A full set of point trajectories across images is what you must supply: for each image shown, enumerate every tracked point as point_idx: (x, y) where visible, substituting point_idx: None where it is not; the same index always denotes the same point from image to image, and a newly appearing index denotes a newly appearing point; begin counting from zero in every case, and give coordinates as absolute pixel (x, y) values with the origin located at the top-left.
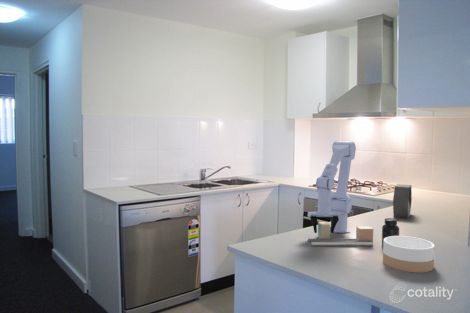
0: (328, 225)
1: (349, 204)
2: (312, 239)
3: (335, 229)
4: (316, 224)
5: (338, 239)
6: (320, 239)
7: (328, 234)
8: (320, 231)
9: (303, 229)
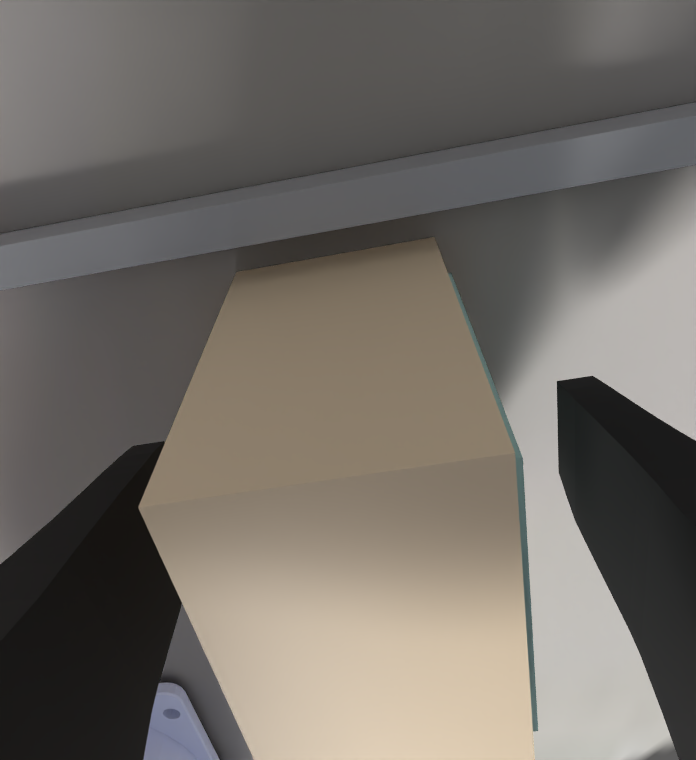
0: (207, 486)
1: None
2: (679, 116)
3: (145, 750)
4: (690, 512)
5: (21, 237)
6: (464, 154)
7: (249, 326)
8: (480, 350)
9: (623, 749)
